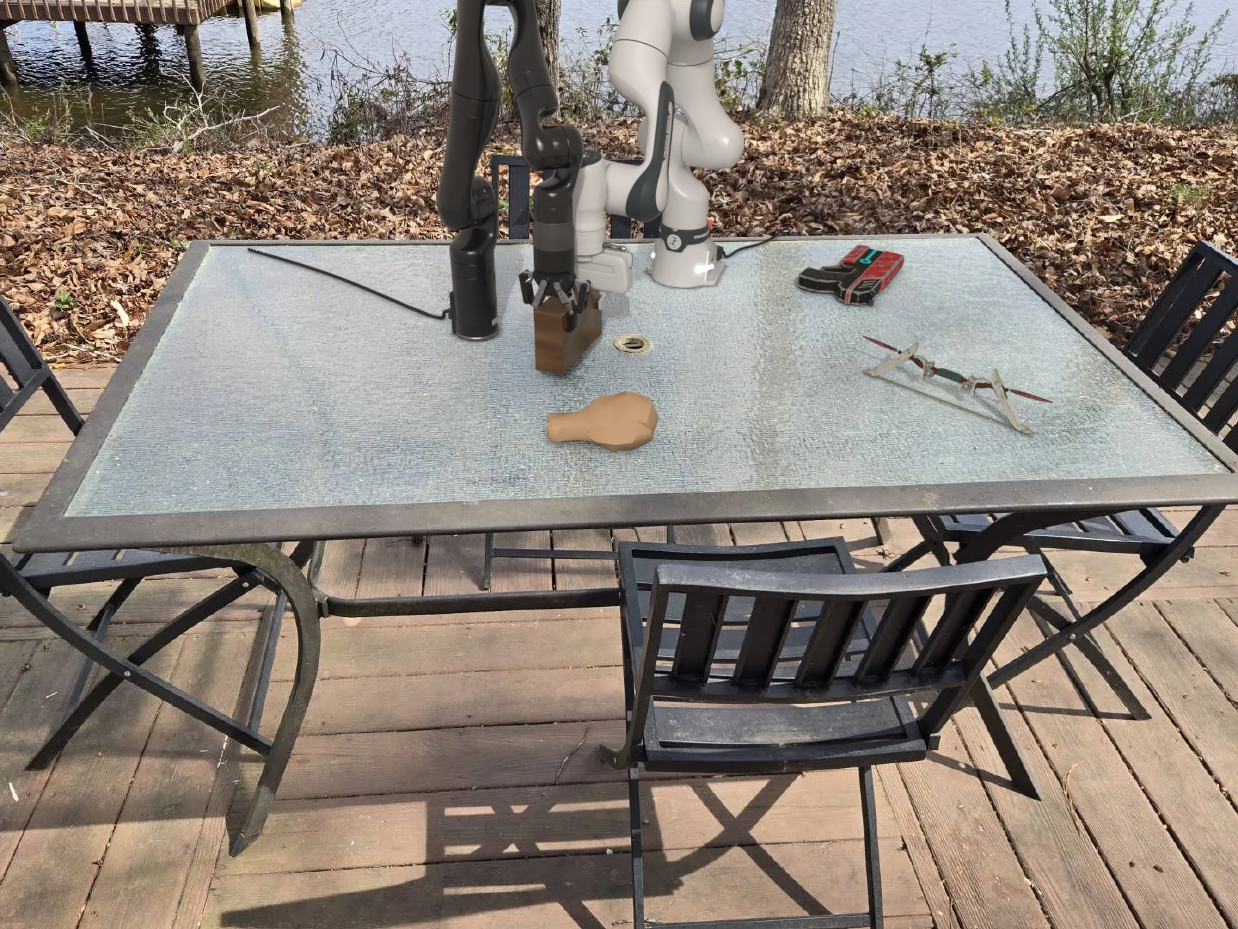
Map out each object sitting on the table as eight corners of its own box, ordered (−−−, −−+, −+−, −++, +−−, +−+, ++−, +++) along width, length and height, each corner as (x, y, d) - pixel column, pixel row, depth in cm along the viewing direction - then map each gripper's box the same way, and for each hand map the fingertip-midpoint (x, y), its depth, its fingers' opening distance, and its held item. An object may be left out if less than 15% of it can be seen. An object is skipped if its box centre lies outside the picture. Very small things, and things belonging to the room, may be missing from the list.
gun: (795, 274, 213) (872, 294, 206) (838, 237, 235) (909, 253, 227) (792, 292, 216) (868, 311, 208) (835, 253, 238) (905, 269, 230)
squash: (661, 458, 153) (657, 419, 147) (548, 466, 154) (539, 428, 148) (659, 417, 161) (656, 379, 154) (552, 426, 162) (544, 388, 156)
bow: (1043, 436, 162) (1060, 388, 156) (1039, 439, 161) (1056, 392, 155) (858, 367, 183) (866, 322, 177) (853, 369, 182) (862, 325, 176)
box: (562, 375, 168) (561, 315, 161) (535, 369, 169) (533, 310, 162) (601, 333, 183) (602, 278, 176) (576, 329, 185) (576, 273, 178)
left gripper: (599, 241, 158) (597, 327, 167) (527, 230, 162) (529, 314, 172) (582, 254, 152) (582, 343, 162) (508, 242, 156) (512, 329, 166)
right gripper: (638, 242, 169) (636, 308, 177) (542, 227, 175) (544, 292, 183) (627, 252, 164) (625, 320, 172) (528, 236, 170) (531, 303, 178)
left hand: (555, 327), depth 167 cm, fingers closed on box, 5 cm apart
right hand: (582, 305), depth 178 cm, fingers closed on box, 6 cm apart
